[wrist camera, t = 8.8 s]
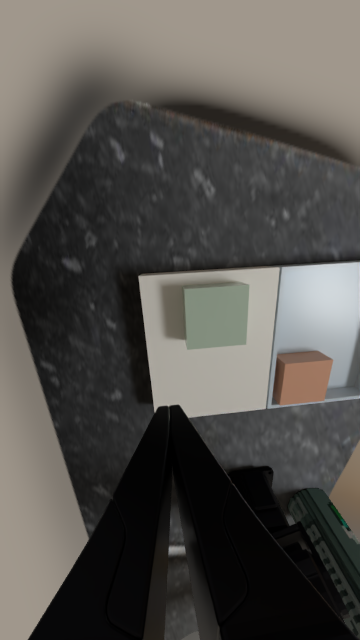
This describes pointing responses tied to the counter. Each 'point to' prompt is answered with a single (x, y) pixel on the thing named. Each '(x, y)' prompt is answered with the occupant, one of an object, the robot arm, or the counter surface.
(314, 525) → the can
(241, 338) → the tile sage
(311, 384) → the tile terracotta
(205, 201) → the counter surface
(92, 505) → the counter surface
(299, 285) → the box
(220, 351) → the board
